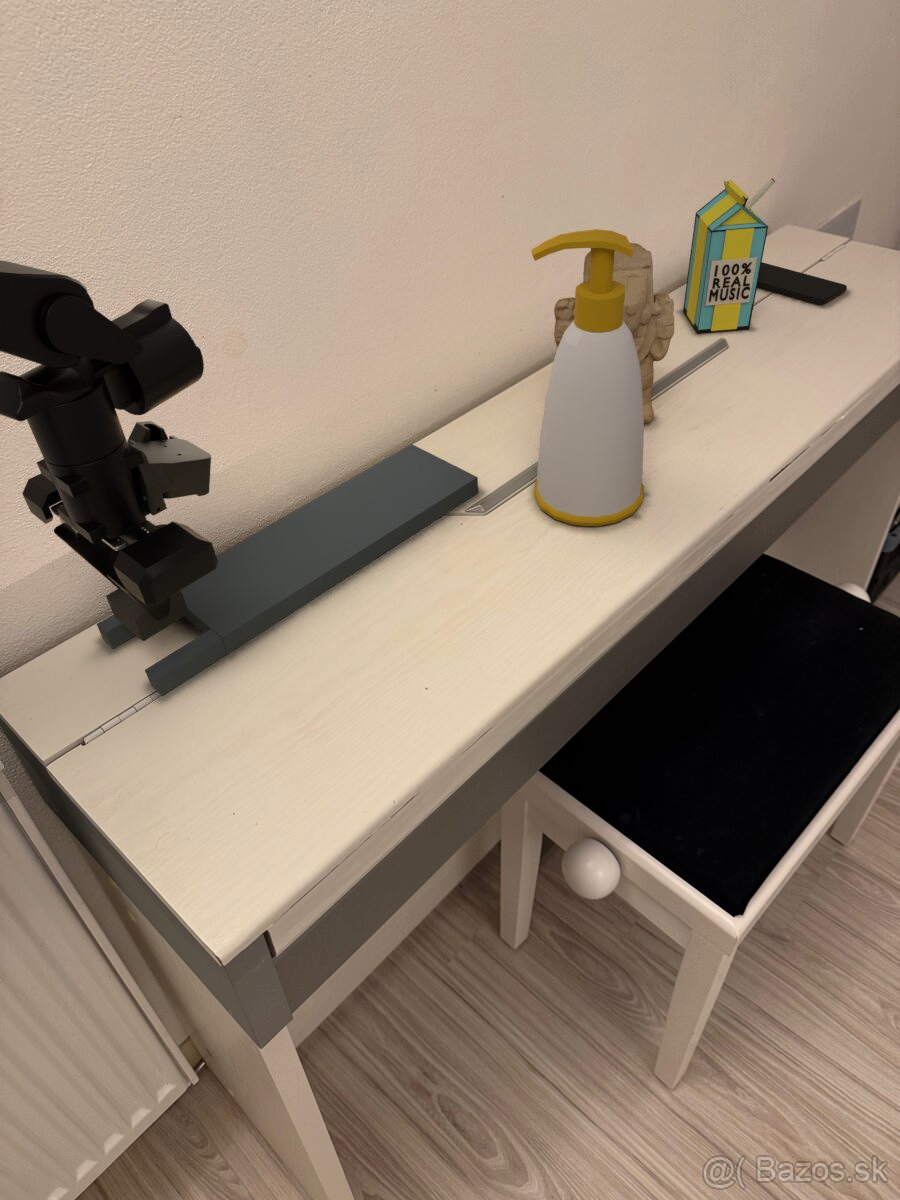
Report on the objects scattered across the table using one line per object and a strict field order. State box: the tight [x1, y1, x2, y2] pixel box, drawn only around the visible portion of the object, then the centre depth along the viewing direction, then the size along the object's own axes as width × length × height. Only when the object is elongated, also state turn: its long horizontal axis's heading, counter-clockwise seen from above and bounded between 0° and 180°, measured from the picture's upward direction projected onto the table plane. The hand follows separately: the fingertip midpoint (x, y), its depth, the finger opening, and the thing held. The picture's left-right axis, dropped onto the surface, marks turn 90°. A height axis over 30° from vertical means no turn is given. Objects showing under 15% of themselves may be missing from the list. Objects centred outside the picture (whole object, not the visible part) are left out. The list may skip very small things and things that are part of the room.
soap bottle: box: [530, 228, 645, 527], centre depth 80 cm, size 11×12×26 cm
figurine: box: [553, 242, 675, 424], centre depth 92 cm, size 13×7×20 cm, turn 91°
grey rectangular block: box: [96, 443, 479, 697], centre depth 83 cm, size 38×10×2 cm, turn 135°
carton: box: [682, 177, 776, 335], centre depth 111 cm, size 7×8×18 cm
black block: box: [105, 588, 189, 642], centre depth 72 cm, size 4×4×2 cm
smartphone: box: [757, 261, 848, 305], centre depth 123 cm, size 7×1×15 cm
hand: (147, 605), depth 72 cm, fingers closed on black block, 4 cm apart
